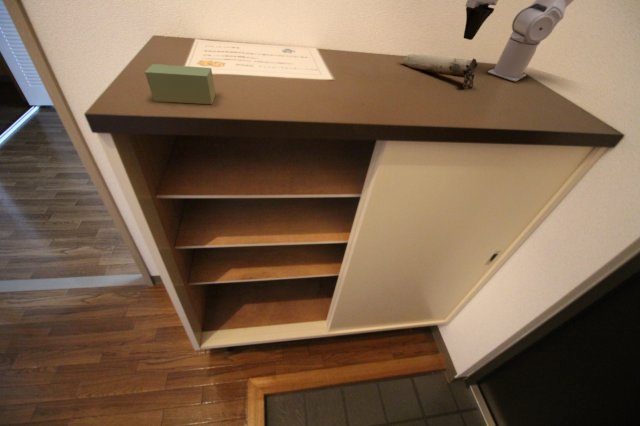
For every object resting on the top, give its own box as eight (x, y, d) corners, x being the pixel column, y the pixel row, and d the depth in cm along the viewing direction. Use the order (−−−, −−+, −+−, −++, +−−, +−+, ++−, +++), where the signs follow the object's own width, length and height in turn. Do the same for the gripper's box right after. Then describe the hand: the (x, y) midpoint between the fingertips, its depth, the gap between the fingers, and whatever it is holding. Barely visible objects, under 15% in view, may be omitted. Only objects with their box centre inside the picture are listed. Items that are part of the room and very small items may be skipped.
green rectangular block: (160, 92, 53) (152, 63, 50) (215, 95, 55) (211, 67, 51) (153, 101, 51) (144, 71, 47) (211, 104, 52) (206, 76, 48)
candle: (461, 91, 69) (473, 63, 65) (401, 63, 80) (408, 38, 75) (474, 87, 72) (487, 60, 68) (415, 61, 83) (422, 36, 78)
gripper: (489, -29, 73) (465, 32, 82) (465, -31, 65) (441, 37, 74) (517, -25, 69) (489, 38, 79) (495, -25, 61) (466, 45, 71)
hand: (467, 38), depth 76 cm, fingers closed
